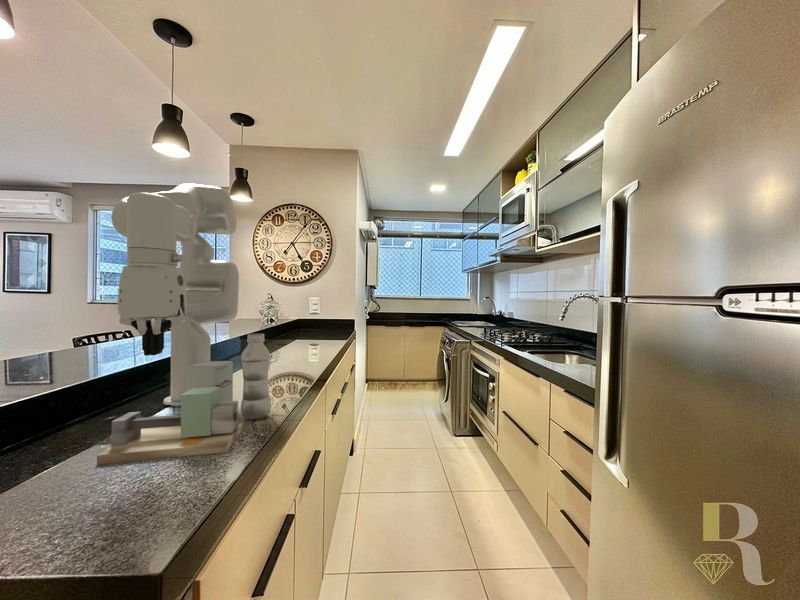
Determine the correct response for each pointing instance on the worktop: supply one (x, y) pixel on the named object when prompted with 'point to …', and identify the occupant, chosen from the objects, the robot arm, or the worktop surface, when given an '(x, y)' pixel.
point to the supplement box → (212, 377)
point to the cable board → (169, 436)
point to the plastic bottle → (255, 378)
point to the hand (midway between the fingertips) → (153, 354)
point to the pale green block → (198, 411)
